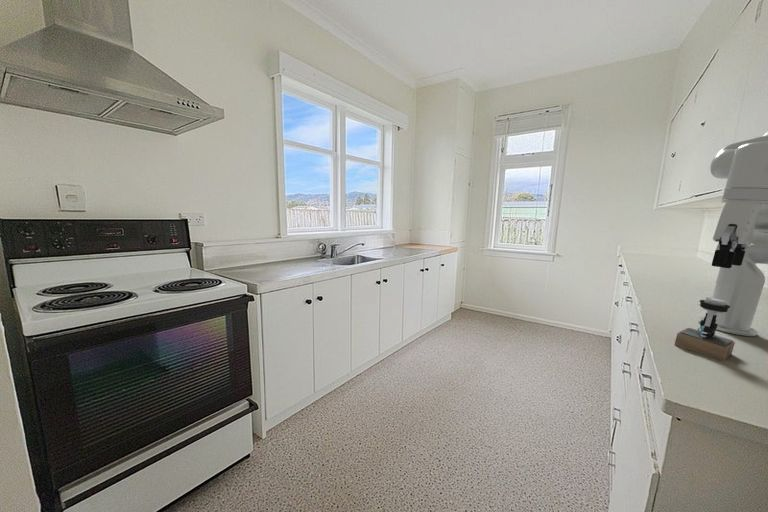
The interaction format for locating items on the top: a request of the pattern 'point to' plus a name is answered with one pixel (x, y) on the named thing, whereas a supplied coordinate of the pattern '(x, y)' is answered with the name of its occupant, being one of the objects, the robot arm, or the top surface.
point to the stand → (705, 344)
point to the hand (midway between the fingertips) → (726, 265)
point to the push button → (711, 315)
